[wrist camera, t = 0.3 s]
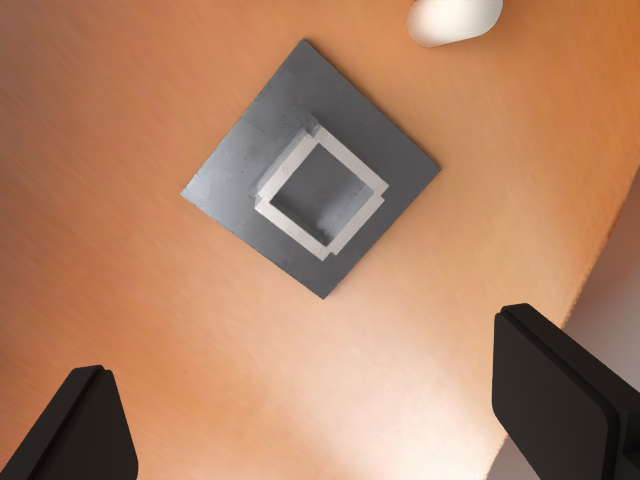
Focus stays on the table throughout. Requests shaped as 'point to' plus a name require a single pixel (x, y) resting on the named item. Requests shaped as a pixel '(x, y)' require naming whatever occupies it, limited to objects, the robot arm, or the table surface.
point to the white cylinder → (450, 20)
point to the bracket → (311, 173)
